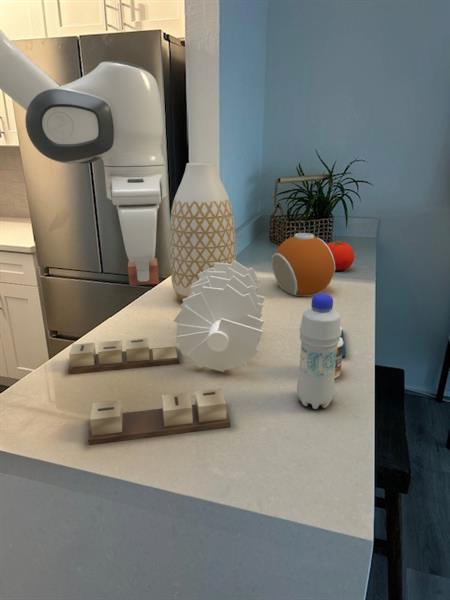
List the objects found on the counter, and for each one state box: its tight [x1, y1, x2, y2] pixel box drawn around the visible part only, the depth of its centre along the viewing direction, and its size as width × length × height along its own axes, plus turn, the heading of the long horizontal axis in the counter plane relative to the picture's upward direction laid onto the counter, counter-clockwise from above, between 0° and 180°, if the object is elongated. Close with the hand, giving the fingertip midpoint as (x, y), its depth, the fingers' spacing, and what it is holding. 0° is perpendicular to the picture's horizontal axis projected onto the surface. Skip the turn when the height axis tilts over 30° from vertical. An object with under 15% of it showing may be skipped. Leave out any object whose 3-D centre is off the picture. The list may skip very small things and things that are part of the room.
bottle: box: [296, 293, 341, 410], centre depth 72 cm, size 7×7×20 cm
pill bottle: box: [334, 325, 343, 379], centre depth 84 cm, size 6×6×10 cm
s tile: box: [127, 257, 160, 286], centre depth 69 cm, size 4×4×3 cm
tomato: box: [326, 239, 355, 272], centre depth 153 cm, size 11×13×10 cm
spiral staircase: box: [173, 260, 266, 373], centre depth 92 cm, size 18×18×25 cm
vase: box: [169, 162, 237, 301], centre depth 120 cm, size 19×19×38 cm
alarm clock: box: [271, 232, 336, 297], centre depth 131 cm, size 19×18×17 cm
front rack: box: [87, 388, 231, 446], centre depth 69 cm, size 22×6×4 cm, turn 101°
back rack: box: [67, 337, 180, 375], centre depth 89 cm, size 22×6×4 cm, turn 101°
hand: (143, 274), depth 69 cm, fingers closed on s tile, 4 cm apart
